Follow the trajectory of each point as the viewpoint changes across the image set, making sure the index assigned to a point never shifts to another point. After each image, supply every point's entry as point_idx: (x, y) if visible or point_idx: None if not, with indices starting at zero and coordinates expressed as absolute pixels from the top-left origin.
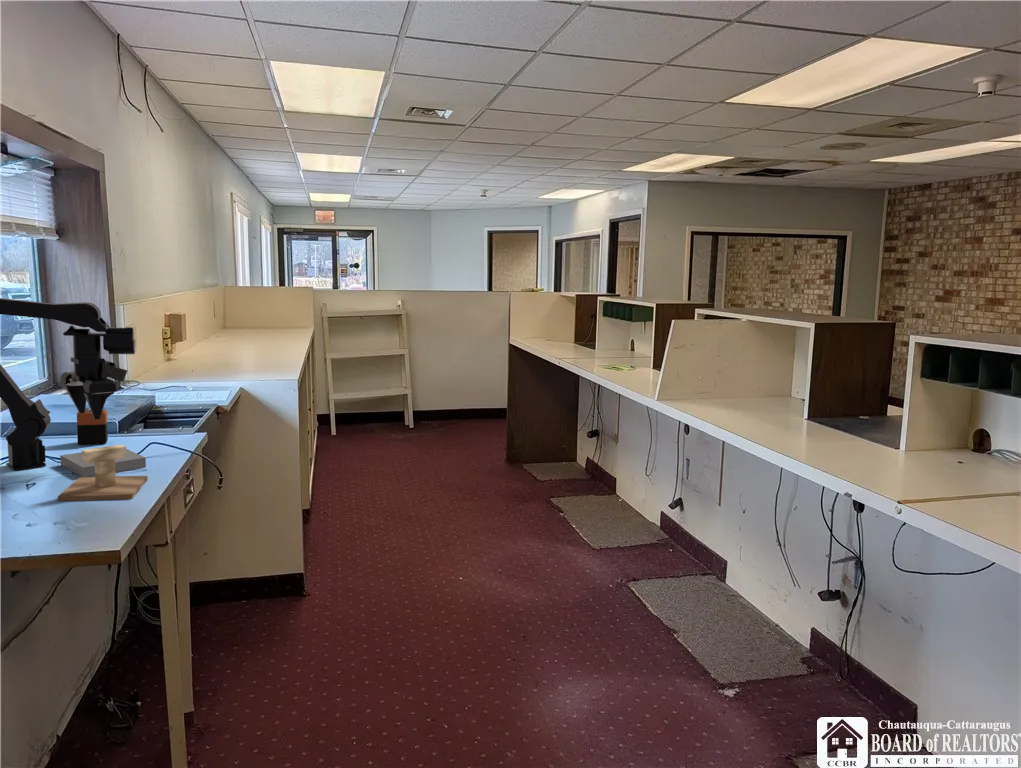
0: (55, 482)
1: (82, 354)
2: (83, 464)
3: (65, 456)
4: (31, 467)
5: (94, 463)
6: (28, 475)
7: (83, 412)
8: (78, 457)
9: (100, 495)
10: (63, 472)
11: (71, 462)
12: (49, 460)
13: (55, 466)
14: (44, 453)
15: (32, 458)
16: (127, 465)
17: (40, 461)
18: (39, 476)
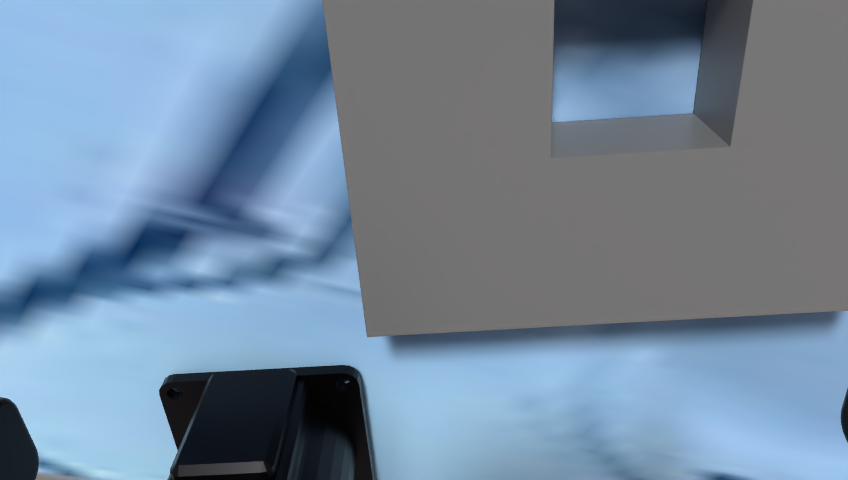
0: (794, 404)
1: None
2: (801, 283)
3: (430, 317)
4: (368, 438)
5: (844, 208)
6: (519, 469)
7: (12, 417)
8: (534, 251)
9: None
10: None
11: (621, 316)
12: (178, 308)
13: None
14: (284, 419)
15: (347, 477)
16: None
17: (309, 402)
18: (586, 435)
